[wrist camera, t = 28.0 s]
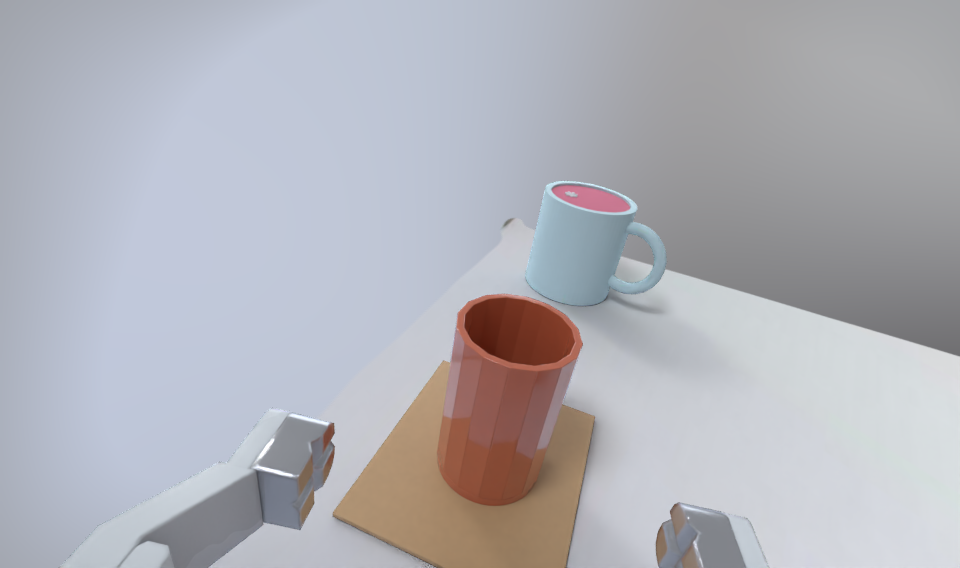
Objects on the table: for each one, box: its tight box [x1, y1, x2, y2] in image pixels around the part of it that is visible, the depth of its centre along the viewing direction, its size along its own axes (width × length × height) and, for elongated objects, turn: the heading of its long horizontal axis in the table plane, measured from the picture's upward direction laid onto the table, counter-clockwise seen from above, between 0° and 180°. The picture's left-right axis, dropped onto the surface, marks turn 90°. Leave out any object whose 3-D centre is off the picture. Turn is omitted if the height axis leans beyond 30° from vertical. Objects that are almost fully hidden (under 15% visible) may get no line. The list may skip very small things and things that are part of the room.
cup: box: [437, 294, 583, 506], centre depth 25 cm, size 6×6×10 cm
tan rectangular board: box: [333, 361, 595, 568], centre depth 28 cm, size 14×12×1 cm
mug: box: [525, 181, 666, 306], centre depth 46 cm, size 14×9×10 cm
